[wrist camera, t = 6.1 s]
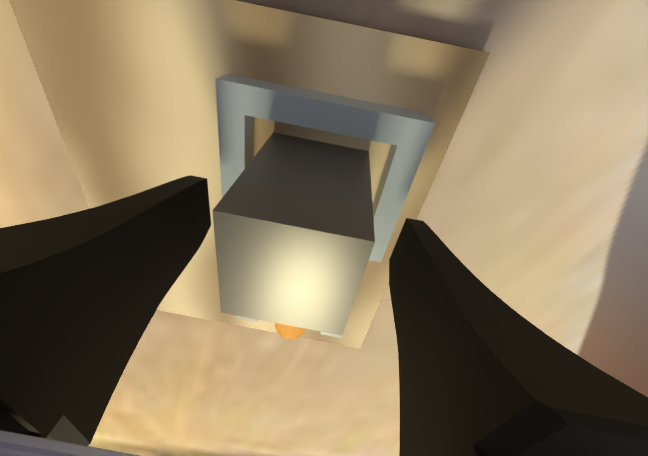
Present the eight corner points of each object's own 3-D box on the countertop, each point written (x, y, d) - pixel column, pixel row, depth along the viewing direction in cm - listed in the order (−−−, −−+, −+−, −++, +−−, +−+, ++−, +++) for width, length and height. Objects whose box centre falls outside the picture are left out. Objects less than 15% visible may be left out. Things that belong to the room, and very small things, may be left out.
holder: (232, 217, 15) (223, 232, 14) (228, 73, 11) (215, 78, 10) (379, 246, 15) (381, 262, 14) (428, 113, 11) (435, 123, 10)
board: (130, 299, 20) (126, 304, 20) (2, -48, 10) (-11, -51, 9) (359, 343, 20) (359, 348, 20) (485, 51, 10) (489, 52, 9)
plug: (262, 312, 19) (229, 413, 14) (273, 132, 12) (212, 210, 7) (322, 323, 19) (309, 428, 14) (368, 151, 12) (375, 242, 7)
